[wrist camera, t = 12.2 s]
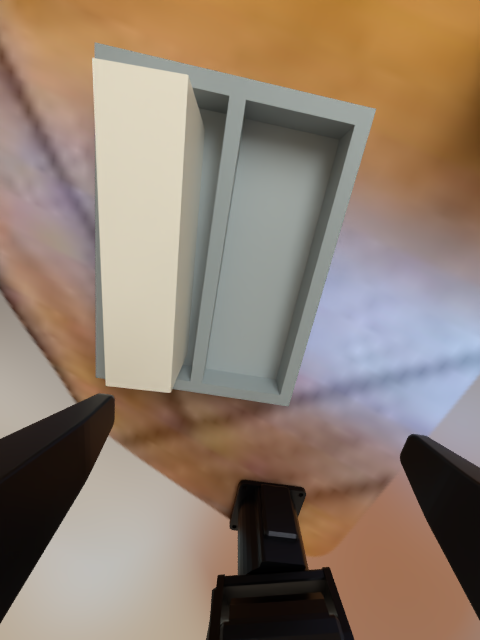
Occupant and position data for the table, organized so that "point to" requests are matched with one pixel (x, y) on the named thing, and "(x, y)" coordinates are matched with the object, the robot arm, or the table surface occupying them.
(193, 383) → the divided grey tray
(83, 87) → the table surface
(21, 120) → the table surface
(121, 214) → the cream rectangular block
